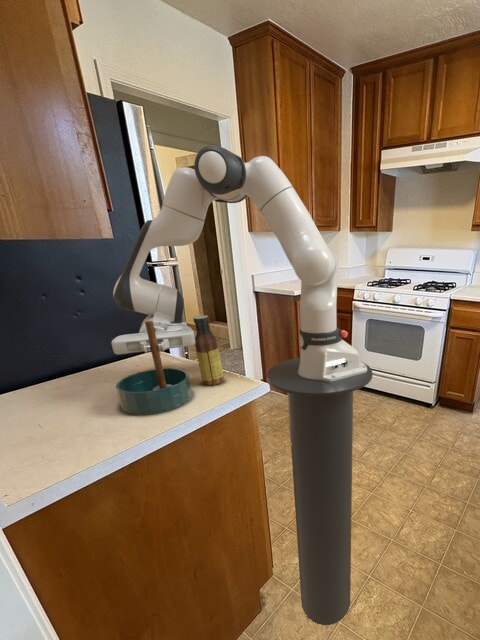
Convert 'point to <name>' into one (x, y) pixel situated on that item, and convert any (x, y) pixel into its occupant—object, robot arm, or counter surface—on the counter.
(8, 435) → the counter surface
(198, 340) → the sauce bottle
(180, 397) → the bowl
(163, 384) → the wooden dowel stand
